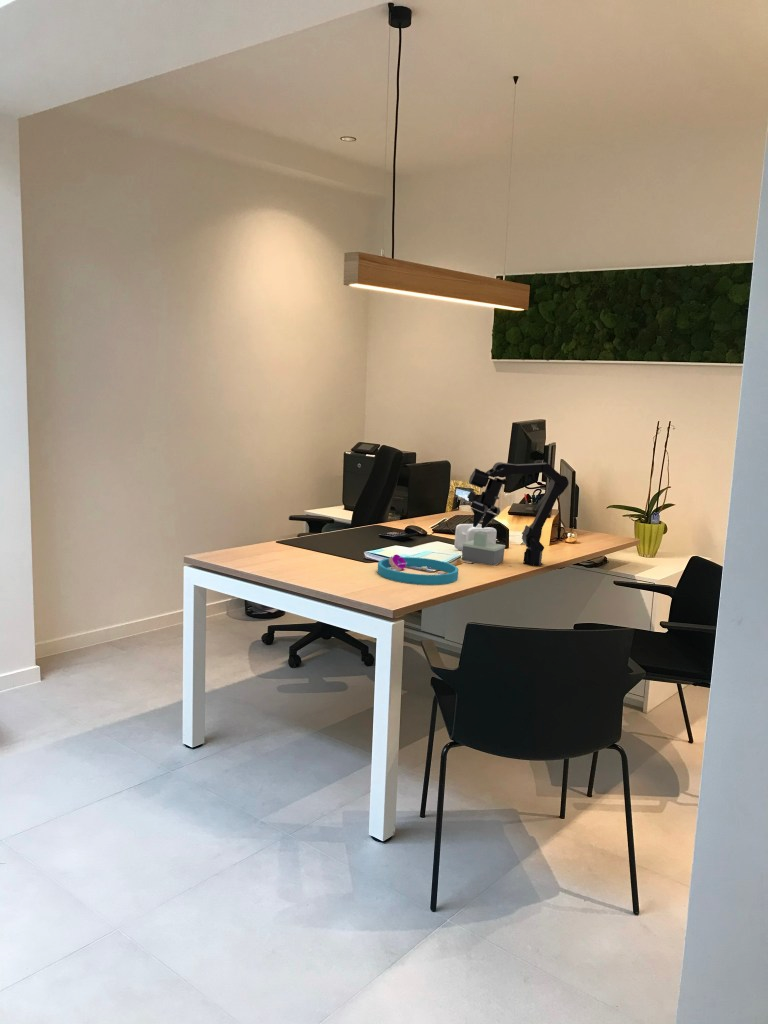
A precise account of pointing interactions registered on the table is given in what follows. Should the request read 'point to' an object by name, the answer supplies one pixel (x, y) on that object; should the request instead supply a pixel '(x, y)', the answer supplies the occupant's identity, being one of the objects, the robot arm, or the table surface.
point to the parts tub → (482, 555)
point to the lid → (483, 543)
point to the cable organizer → (472, 534)
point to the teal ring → (401, 562)
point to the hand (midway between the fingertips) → (478, 527)
